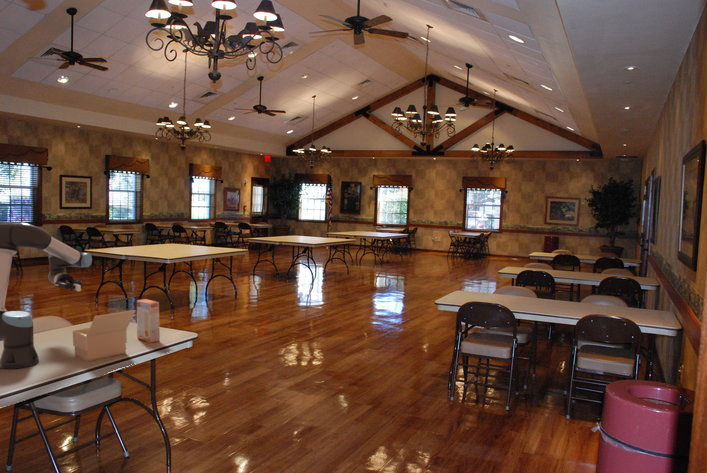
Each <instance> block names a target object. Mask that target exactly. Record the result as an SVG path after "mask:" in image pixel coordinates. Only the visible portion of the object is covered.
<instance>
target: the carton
mask: <svg viewBox="0 0 707 473" xmlns="http://www.w3.org/2000/svg"><path fill="white" fill-rule="evenodd" d="M89 329H90V327H87V328H81V329H75V330H72V346H73V347H74V357H76V358H79V359H81V360H83V361H85V362H87V363H88V362H93V361H97V360H102V359H106V358H111V357H117V356H120V355H124V354H127V351H126V350H127V347H126V346H127V345H126V344H127V343H128V342H127V340H128V336H127V329H126V330H120V331H115V332H109V333H104V334H99V335H93V336H88V337H87V336H86V335H87V333H88V331H89Z"/></svg>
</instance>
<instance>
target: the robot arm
mask: <svg viewBox="0 0 707 473" xmlns="http://www.w3.org/2000/svg"><path fill="white" fill-rule="evenodd" d="M20 248H27V249H35V250H36V251H43V252H45V253H47V254H48V263H49V264H48V265H49V273H48V275H47V277H48V281H49V282H51V283H52V285H54V287H55V288H60V289H63V290H69V289H70V291H71V292H73V291H76V292H81V291H82V288H83V282H82V281H83V279H82V278H79V279H75V278H74V277H73V276H72V275H70V274H68V273H67V272H66V271H67V269H66V267H67V268H70V267H71V268H89V267H90V266H91V265H92V262H93V258H92V255H91V254H90V253H88V252H81V251H79V250H76V249H75V248H73V247H71V246H69V245H67V244H66V243H64V242H62V241H60V240H58V239H56V238H55V237H53V236H52V234H50V232H48V231H46V230H44V229H42V228H41V227H38V226H36V225H33V224H31V223H28V222H9V221H8V222H7V221H5V222H4V221H1V222H0V342H2V343H3V350H2V353H1V356H0V368H1V369H3V368H5V370H13V369H14V370H16V368H17V369H22V368H28V367H31V366H34V365H37V364H38V363H39V361H40V360H39V358H40V357H39V354H38V352H37V350H36V347H35V344H34V341H35V340H34V320H33V318H34V317H33V315H32V314H31V313H30V312H28V311H23V310H16V311H15V310H11V311H8V310H7V309H6V307H5V304H6V298H7V293H8V287H9V281H10V275H11V267H12V261H13V257H14V256H15V255H16V254H17V253H18V249H20Z"/></svg>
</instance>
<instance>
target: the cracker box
mask: <svg viewBox="0 0 707 473" xmlns="http://www.w3.org/2000/svg"><path fill="white" fill-rule="evenodd" d="M136 330H137V331H136V333H137V335H136V336H137V339H138V340H141V341H143V342H147V343H149V344H152V343H156V342H160V341H161V340H160V302H159V301H156V300H151V299H147V298H143V299H142V298H141V299H138V300H136Z"/></svg>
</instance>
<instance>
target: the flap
mask: <svg viewBox="0 0 707 473" xmlns="http://www.w3.org/2000/svg"><path fill="white" fill-rule="evenodd" d="M135 313H136V309H132V310H131V309H130V310H124V311H118V312H112V313H106V314H100V315H94V317H93V320H92V321H91V325H90V327H89V328H90V329H89V331H88V333H87V335H86V336H87V337H88V336H93V335H99V334H104V333H109V332H115V331H120V330H127V329H128V327H129V325H130V324H131V321H132V319H133V317H134V315H135Z"/></svg>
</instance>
